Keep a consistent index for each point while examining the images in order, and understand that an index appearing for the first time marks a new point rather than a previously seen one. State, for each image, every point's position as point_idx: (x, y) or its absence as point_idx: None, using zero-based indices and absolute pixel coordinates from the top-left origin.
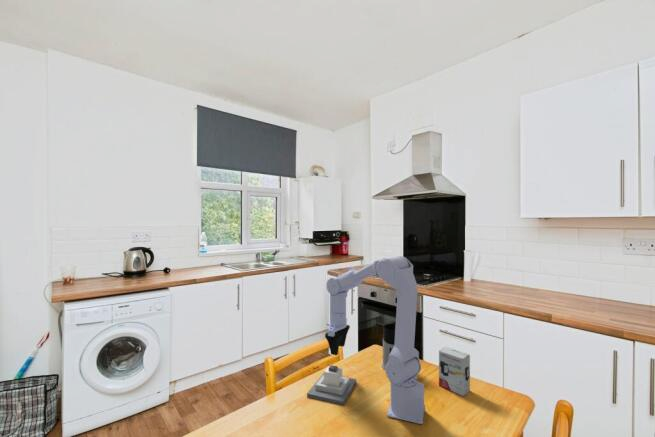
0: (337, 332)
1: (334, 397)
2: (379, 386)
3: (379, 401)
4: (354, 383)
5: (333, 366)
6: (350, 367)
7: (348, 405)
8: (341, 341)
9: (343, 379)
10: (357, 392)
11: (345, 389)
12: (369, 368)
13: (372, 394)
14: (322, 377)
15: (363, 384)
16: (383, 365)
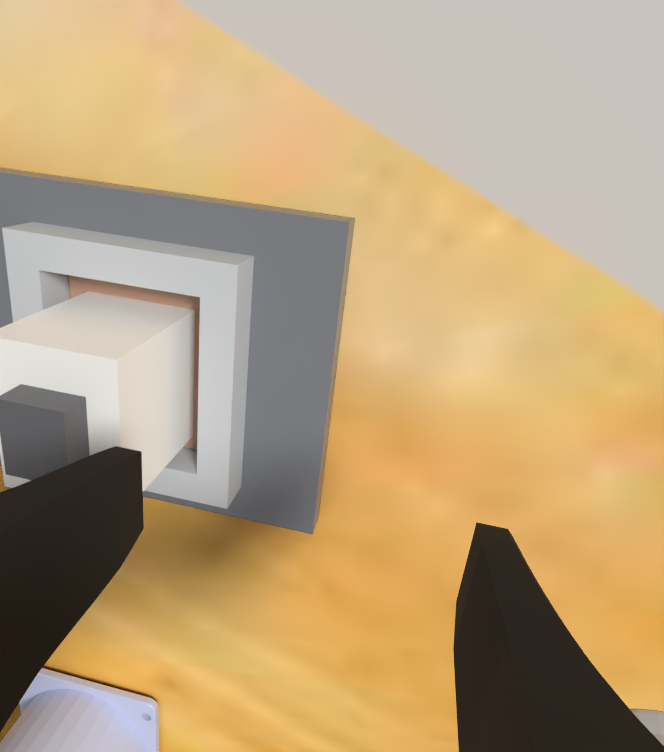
0: (516, 738)
1: None
2: (305, 658)
3: (136, 640)
4: (259, 516)
5: (46, 445)
6: (595, 461)
7: None
8: (470, 635)
9: (199, 458)
10: (181, 526)
11: None
12: (592, 619)
13: (193, 611)
14: (150, 263)
15: (300, 565)
16: None
